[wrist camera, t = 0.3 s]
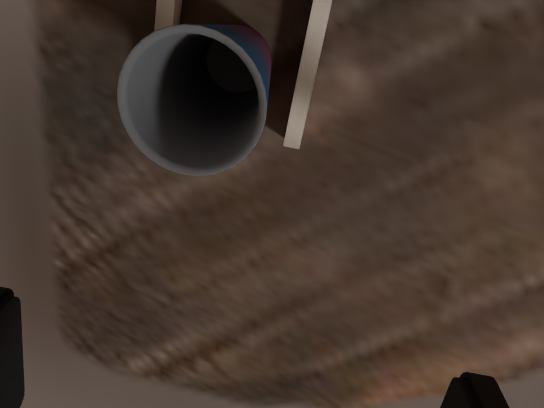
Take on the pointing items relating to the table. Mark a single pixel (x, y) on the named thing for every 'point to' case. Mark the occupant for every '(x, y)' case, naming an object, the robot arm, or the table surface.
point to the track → (171, 13)
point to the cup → (196, 95)
